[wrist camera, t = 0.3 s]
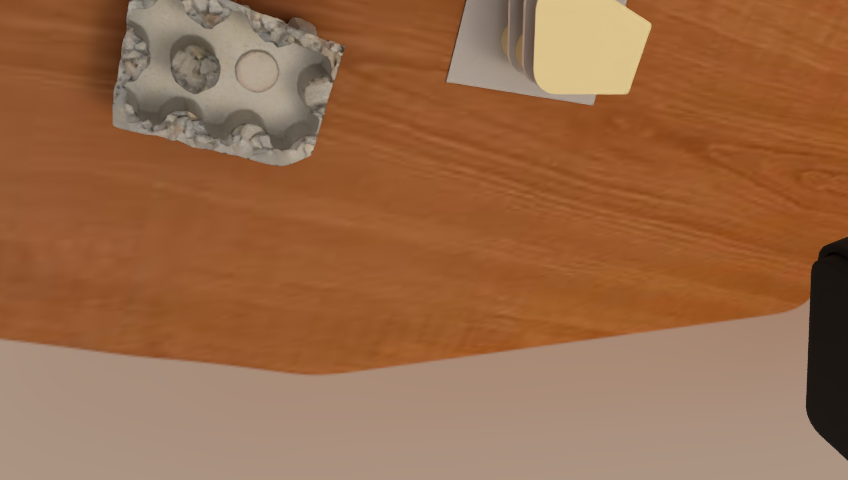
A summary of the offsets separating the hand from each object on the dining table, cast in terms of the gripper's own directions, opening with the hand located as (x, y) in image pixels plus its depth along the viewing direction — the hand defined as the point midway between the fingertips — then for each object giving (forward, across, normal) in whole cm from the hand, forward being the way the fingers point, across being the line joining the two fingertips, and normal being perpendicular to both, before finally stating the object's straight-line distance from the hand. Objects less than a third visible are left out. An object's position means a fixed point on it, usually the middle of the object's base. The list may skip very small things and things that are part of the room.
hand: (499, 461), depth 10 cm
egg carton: (+37, +2, +5) cm, 37 cm away
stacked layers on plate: (+37, -16, +8) cm, 41 cm away
